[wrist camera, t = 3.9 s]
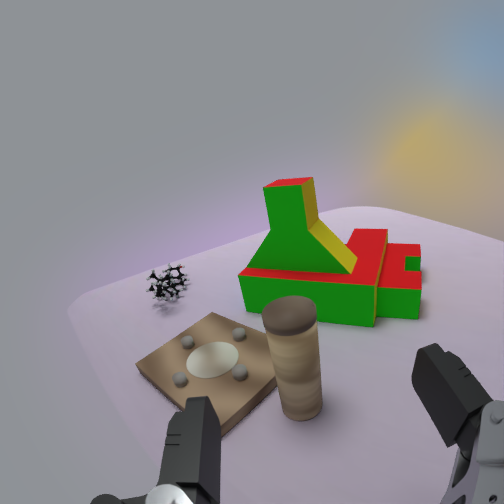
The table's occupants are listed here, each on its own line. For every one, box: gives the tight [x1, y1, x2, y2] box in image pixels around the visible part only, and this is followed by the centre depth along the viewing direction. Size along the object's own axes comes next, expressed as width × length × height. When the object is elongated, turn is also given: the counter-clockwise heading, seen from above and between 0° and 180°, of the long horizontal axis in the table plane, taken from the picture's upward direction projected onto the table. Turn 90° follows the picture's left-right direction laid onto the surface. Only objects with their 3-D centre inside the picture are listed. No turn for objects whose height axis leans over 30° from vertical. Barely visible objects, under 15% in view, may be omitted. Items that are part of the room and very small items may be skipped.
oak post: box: [262, 296, 322, 421], centre depth 24 cm, size 4×4×12 cm
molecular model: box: [146, 263, 190, 301], centre depth 52 cm, size 15×6×6 cm, turn 179°
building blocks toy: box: [238, 177, 422, 327], centre depth 42 cm, size 19×25×18 cm
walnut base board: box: [135, 312, 277, 437], centre depth 33 cm, size 14×16×3 cm
